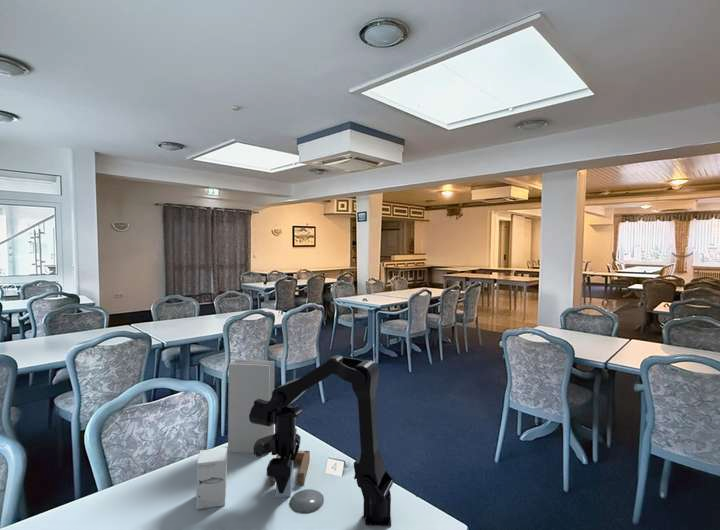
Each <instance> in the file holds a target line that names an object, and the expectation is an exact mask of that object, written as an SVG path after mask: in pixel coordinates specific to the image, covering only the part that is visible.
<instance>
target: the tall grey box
mask: <svg viewBox="0 0 720 530" xmlns="http://www.w3.org/2000/svg"><path fill="white" fill-rule="evenodd" d="M275 365H276V362H275V361H274V360H257V359H256V360H255V359H253V360H252V359H234V363H228V388H227V389H228V392H227V393H228V396H227V397H228V399H227V400H228V403H227V404H228V408H227V410H228V411H227V412H228V413H227V416H228V417H227V418H228V419H227V420H228V421H227V423H228V424H227V425H228V426H227V452H231V453H242V454H243V453H245V454H253V452H254V449H253V448H254V447H253V446H254V444H255V443H256V441H257V440H258V439H261V438H264V437H266V436H269V435H274V433H275V423H273V424H272V425H271V426H264V425H259V424H254V423H251V422H250V420H249V414H250V411H251V409H252V407H253V405H254V401H255V400H257V399H262V400H265V401H270V399H271V398H272V392H273V390H274V389H275V377H276V376H275V375H276V373H275V367H276V366H275ZM269 454H270V453H268V454H267V455H269Z"/></svg>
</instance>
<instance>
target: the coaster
mask: <svg viewBox="0 0 720 530" xmlns="http://www.w3.org/2000/svg"><path fill="white" fill-rule="evenodd" d="M324 502H325V498H324V495H323V494H322V493H321V492H320V491H319V490H316V489H311V488H307V489H301V490H299V491H296V492H295V493H294V494H293V495H291V496H290V506H291V508H292V509H293V510H294V511H297V512H300V513H313V512H316V511H317V510H318V509H321V507H322V506H323V505H324Z"/></svg>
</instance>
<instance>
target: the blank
mask: <svg viewBox="0 0 720 530" xmlns="http://www.w3.org/2000/svg"><path fill="white" fill-rule="evenodd" d="M292 462H293V461H292ZM293 488H294V465H293V466H292V473H291V476H290V478H289V480H288V483H287V485H286V488H285V490H284V493H279V490H278V487H277V483H276V482H275V497H278V498H279V497H280V498H282V497H283V498H284V497H286V498H287V497H288V498H291V497H292V492H293Z"/></svg>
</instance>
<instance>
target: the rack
mask: <svg viewBox="0 0 720 530" xmlns="http://www.w3.org/2000/svg"><path fill="white" fill-rule="evenodd" d="M310 452H311V451H310V450H298V453H297V455H296V458H295V461H294V463H293V465H294V464H295V465H297V464H298V465H299V464H300V468H299V471H298V486H304V485H305V482H306V477H307V474H308V469H309V465H310V459H311V458H310V454H311V453H310ZM275 456H276V457H275V458H280V457H281V456H278V454H276V455H275ZM269 485H271V486H273V485H275V486H276V480H275V478H274V477H270V476H269Z"/></svg>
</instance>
